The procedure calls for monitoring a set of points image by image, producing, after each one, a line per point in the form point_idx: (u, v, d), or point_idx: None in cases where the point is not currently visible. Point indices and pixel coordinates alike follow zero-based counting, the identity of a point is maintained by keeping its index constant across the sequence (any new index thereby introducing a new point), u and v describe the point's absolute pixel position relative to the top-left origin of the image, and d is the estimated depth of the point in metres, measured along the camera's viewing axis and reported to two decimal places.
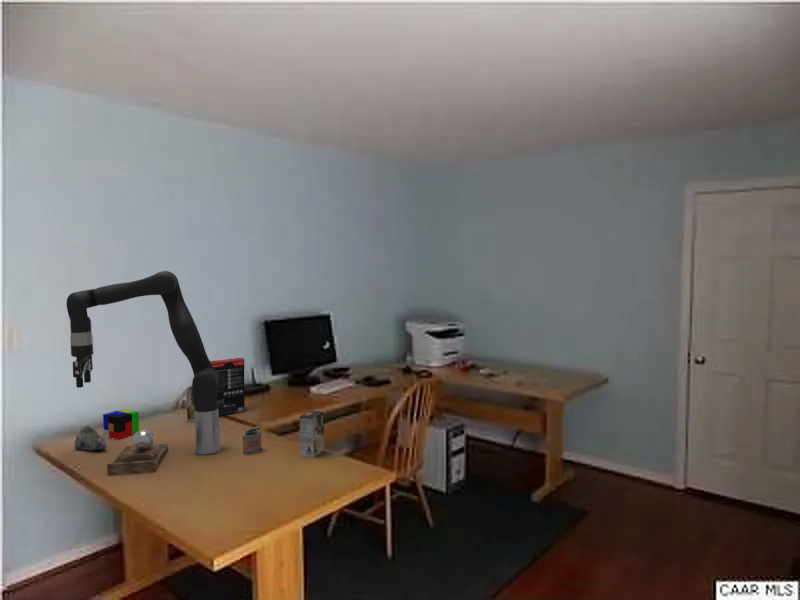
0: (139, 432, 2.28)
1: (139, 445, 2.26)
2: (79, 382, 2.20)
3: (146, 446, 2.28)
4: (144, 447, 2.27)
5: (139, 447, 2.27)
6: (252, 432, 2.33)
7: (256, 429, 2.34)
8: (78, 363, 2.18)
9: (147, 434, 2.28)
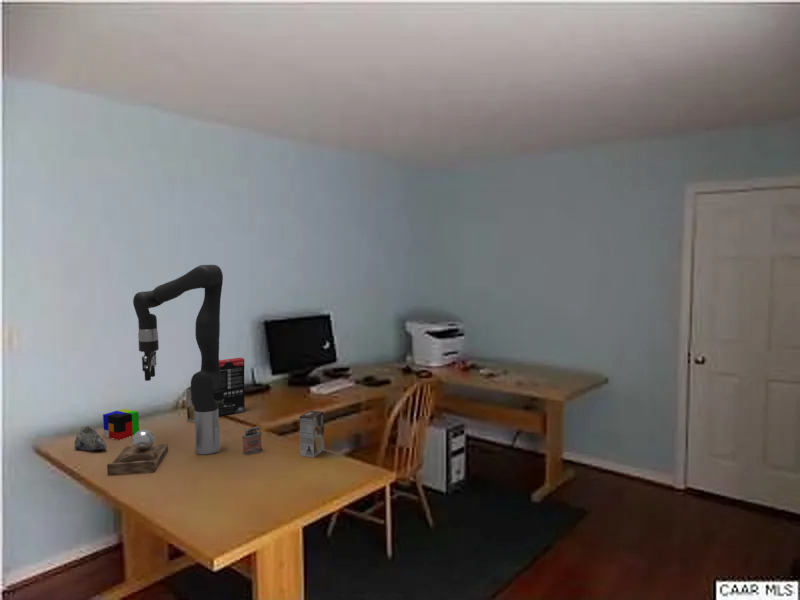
0: (139, 432, 2.28)
1: (139, 445, 2.26)
2: (147, 376, 2.38)
3: (146, 446, 2.28)
4: (144, 447, 2.27)
5: (139, 447, 2.27)
6: (252, 432, 2.33)
7: (256, 429, 2.34)
8: (147, 358, 2.35)
9: (147, 434, 2.28)
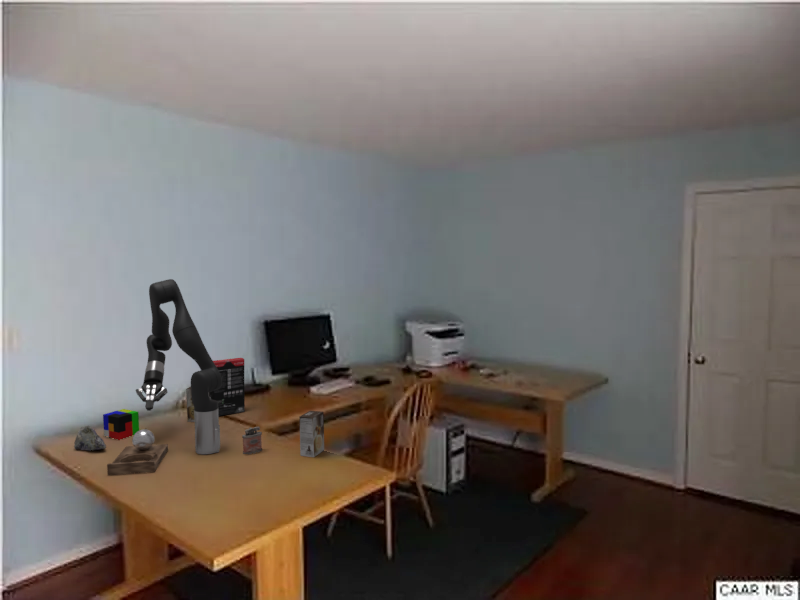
0: (139, 432, 2.28)
1: (139, 445, 2.26)
2: None
3: (146, 446, 2.28)
4: (144, 447, 2.27)
5: (139, 447, 2.27)
6: (252, 432, 2.33)
7: (256, 429, 2.34)
8: (136, 391, 2.44)
9: (147, 434, 2.28)
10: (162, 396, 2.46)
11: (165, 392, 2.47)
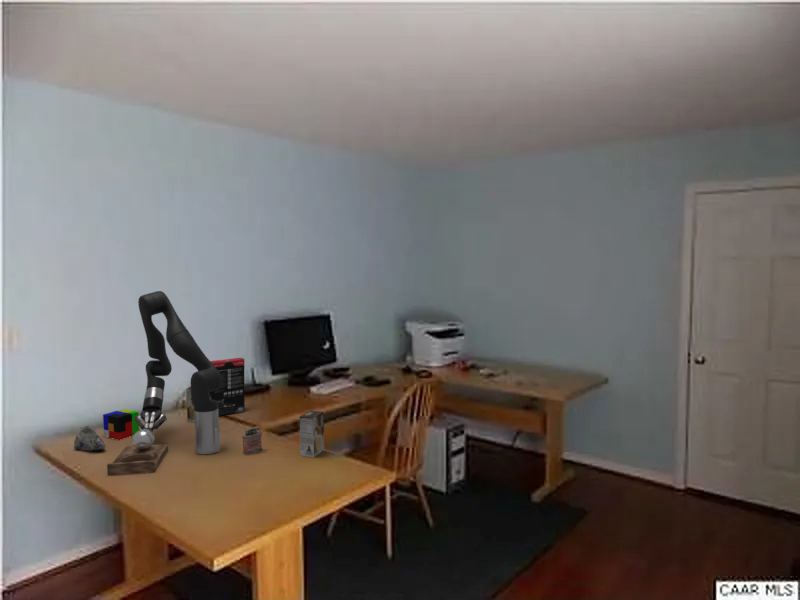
0: (139, 432, 2.28)
1: (139, 445, 2.26)
2: None
3: (146, 446, 2.28)
4: (144, 447, 2.27)
5: (139, 447, 2.27)
6: (252, 432, 2.33)
7: (256, 429, 2.34)
8: None
9: (147, 434, 2.28)
10: (161, 423, 2.42)
11: (164, 419, 2.42)
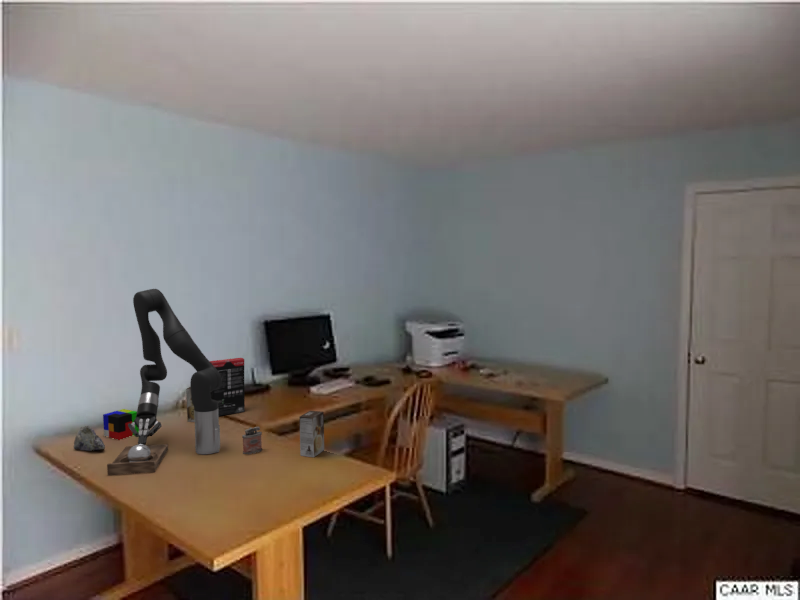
0: None
1: None
2: None
3: None
4: None
5: None
6: (252, 432, 2.33)
7: (256, 429, 2.34)
8: (128, 426, 2.31)
9: None
10: (156, 430, 2.32)
11: (159, 426, 2.33)
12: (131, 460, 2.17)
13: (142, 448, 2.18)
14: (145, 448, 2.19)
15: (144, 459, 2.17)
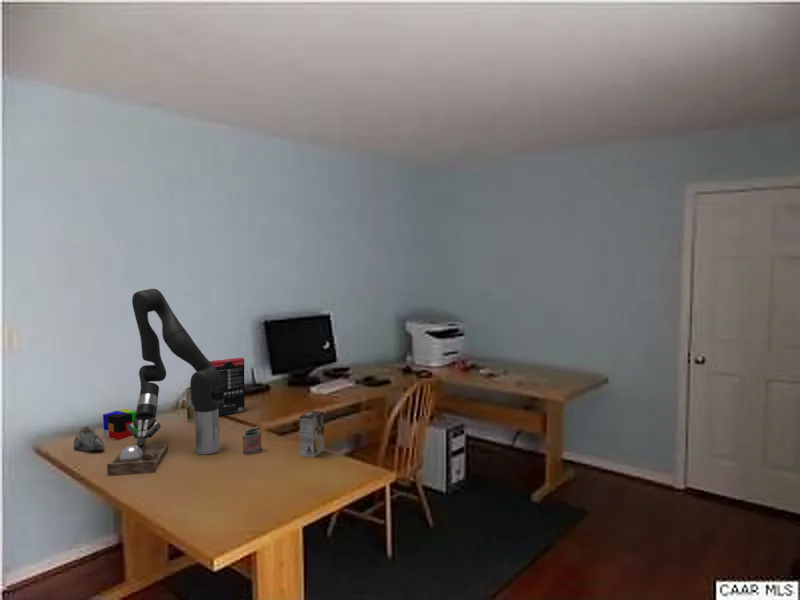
0: None
1: None
2: None
3: None
4: None
5: None
6: (252, 432, 2.33)
7: (256, 429, 2.34)
8: (127, 427, 2.29)
9: None
10: (155, 431, 2.31)
11: (158, 427, 2.32)
12: None
13: (128, 451, 2.16)
14: (130, 449, 2.16)
15: (135, 458, 2.16)
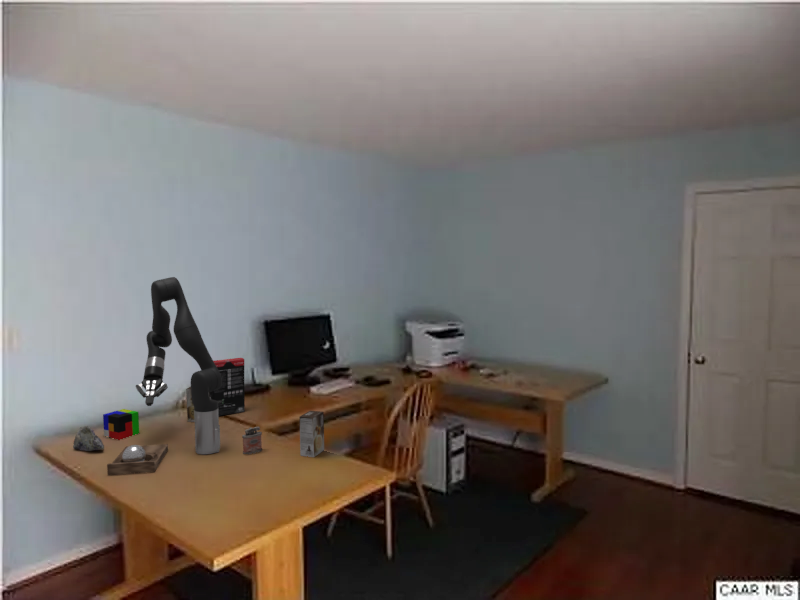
0: None
1: None
2: None
3: None
4: None
5: None
6: (252, 432, 2.33)
7: (256, 429, 2.34)
8: (136, 387, 2.43)
9: None
10: (162, 391, 2.45)
11: (165, 387, 2.46)
12: None
13: (133, 450, 2.17)
14: (135, 448, 2.17)
15: (138, 458, 2.16)
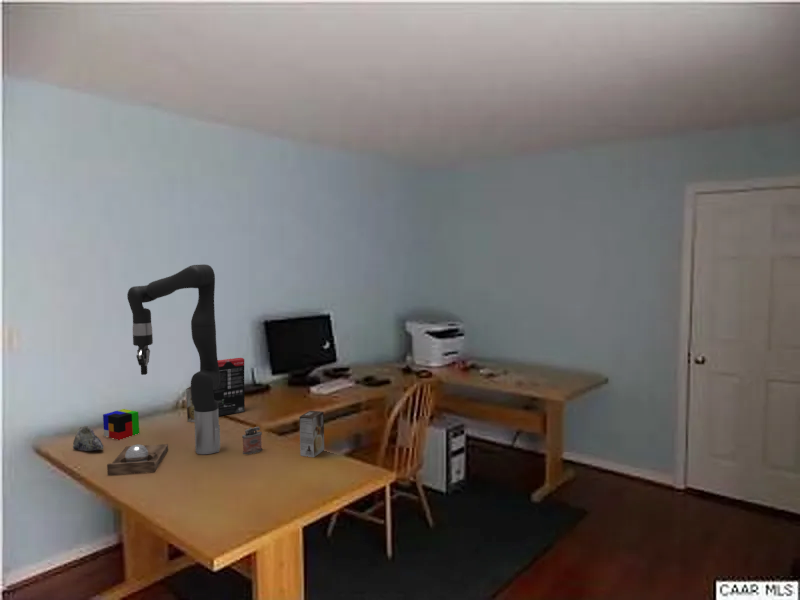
0: None
1: None
2: (143, 370, 2.44)
3: None
4: None
5: None
6: (252, 432, 2.33)
7: (256, 429, 2.34)
8: (141, 357, 2.39)
9: None
10: None
11: None
12: None
13: (138, 448, 2.17)
14: (140, 448, 2.18)
15: (141, 458, 2.17)
